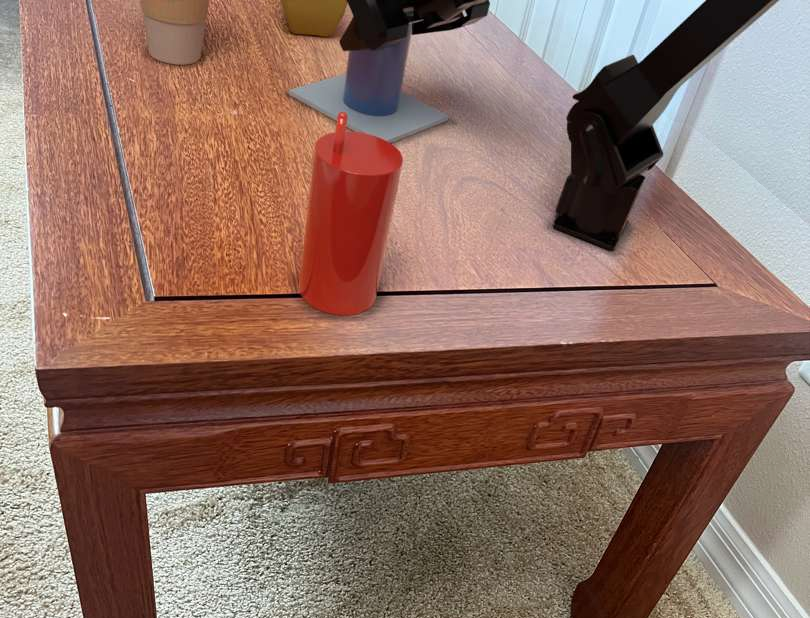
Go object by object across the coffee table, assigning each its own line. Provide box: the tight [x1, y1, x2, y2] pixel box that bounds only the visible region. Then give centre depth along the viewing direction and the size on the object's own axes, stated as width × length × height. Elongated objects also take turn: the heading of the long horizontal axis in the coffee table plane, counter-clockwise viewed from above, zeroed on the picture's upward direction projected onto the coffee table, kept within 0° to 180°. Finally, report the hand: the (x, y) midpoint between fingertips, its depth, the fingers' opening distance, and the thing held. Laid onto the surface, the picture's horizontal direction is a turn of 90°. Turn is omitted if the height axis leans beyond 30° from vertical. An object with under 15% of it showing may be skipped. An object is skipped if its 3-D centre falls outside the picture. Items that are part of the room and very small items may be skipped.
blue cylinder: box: [343, 11, 414, 116], centre depth 88 cm, size 6×6×16 cm
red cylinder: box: [298, 112, 404, 316], centre depth 62 cm, size 6×6×16 cm
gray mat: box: [288, 72, 449, 144], centre depth 94 cm, size 14×12×1 cm
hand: (369, 39), depth 90 cm, fingers open, 9 cm apart
